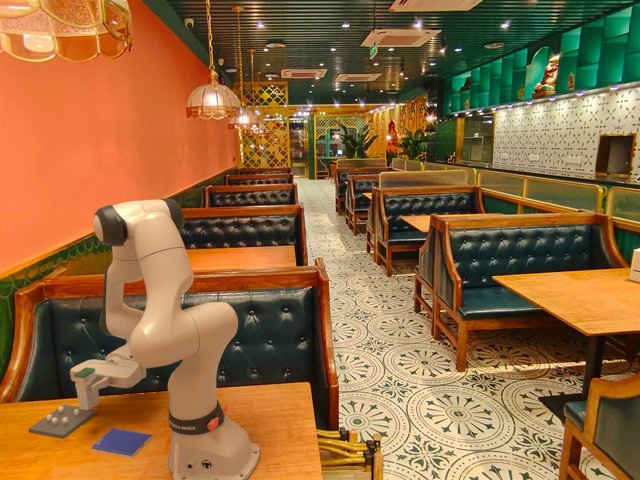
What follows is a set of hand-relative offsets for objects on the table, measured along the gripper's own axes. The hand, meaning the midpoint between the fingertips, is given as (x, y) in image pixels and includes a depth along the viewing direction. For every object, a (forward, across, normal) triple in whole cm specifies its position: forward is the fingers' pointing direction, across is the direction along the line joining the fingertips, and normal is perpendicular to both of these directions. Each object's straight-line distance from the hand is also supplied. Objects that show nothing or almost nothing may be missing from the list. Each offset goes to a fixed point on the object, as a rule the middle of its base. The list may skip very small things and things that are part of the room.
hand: (84, 388), depth 114 cm
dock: (-3, -12, +14) cm, 18 cm away
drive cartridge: (-1, 0, +6) cm, 6 cm away
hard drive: (+1, +11, +15) cm, 18 cm away
